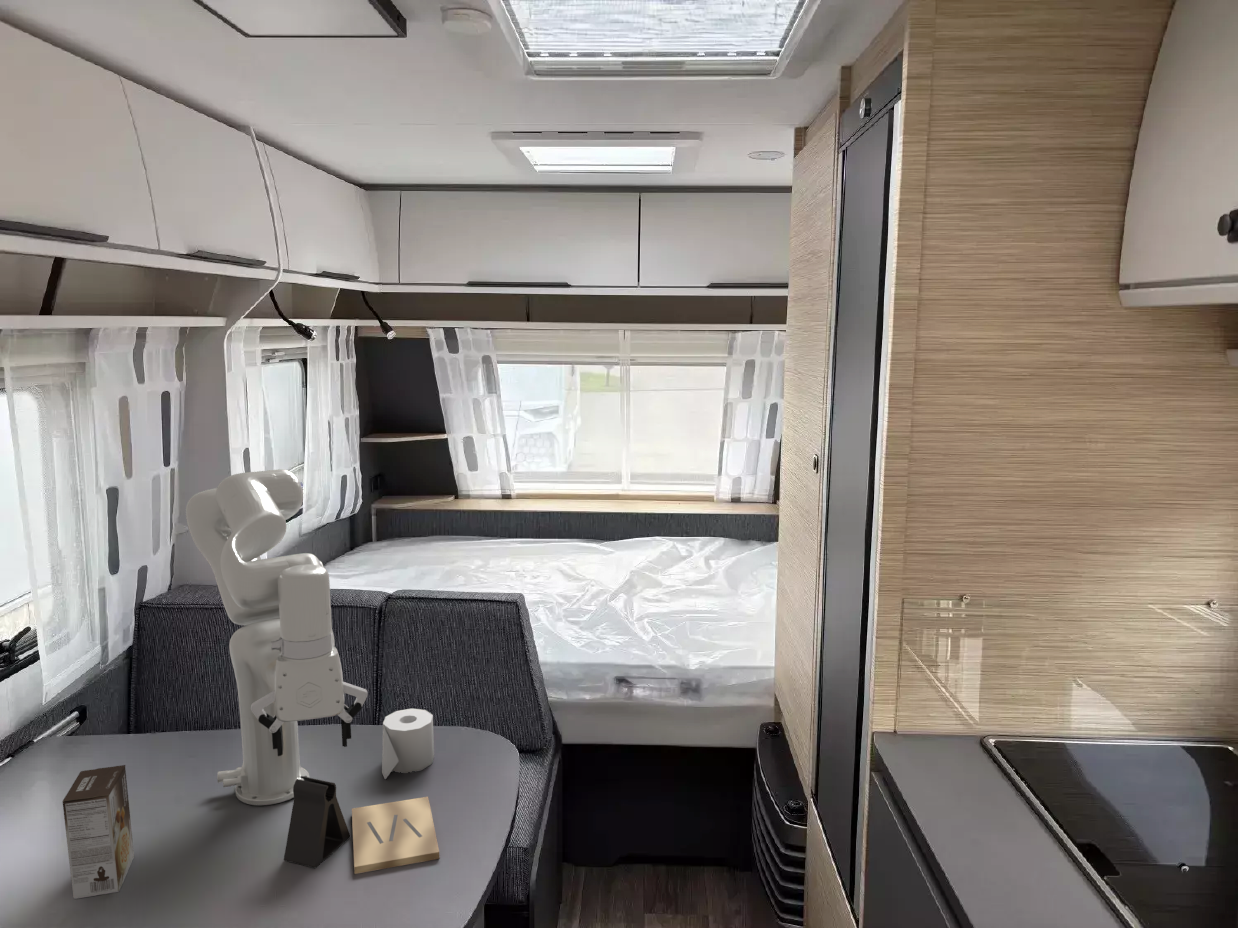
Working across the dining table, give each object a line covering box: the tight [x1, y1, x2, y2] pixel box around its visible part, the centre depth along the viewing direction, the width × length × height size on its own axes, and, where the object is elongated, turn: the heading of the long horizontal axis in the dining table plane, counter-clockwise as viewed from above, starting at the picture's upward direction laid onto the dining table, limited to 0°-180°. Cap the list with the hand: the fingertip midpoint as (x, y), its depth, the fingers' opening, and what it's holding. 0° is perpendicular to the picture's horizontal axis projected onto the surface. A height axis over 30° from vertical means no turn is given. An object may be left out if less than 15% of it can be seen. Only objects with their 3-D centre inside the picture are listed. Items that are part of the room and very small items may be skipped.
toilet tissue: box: [381, 708, 435, 780], centre depth 167 cm, size 9×13×9 cm
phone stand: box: [283, 776, 351, 869], centre depth 140 cm, size 9×6×12 cm, turn 161°
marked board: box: [351, 796, 441, 875], centre depth 145 cm, size 13×17×1 cm
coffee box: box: [61, 764, 135, 900], centre depth 132 cm, size 9×6×16 cm
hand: (313, 747), depth 138 cm, fingers open, 9 cm apart
